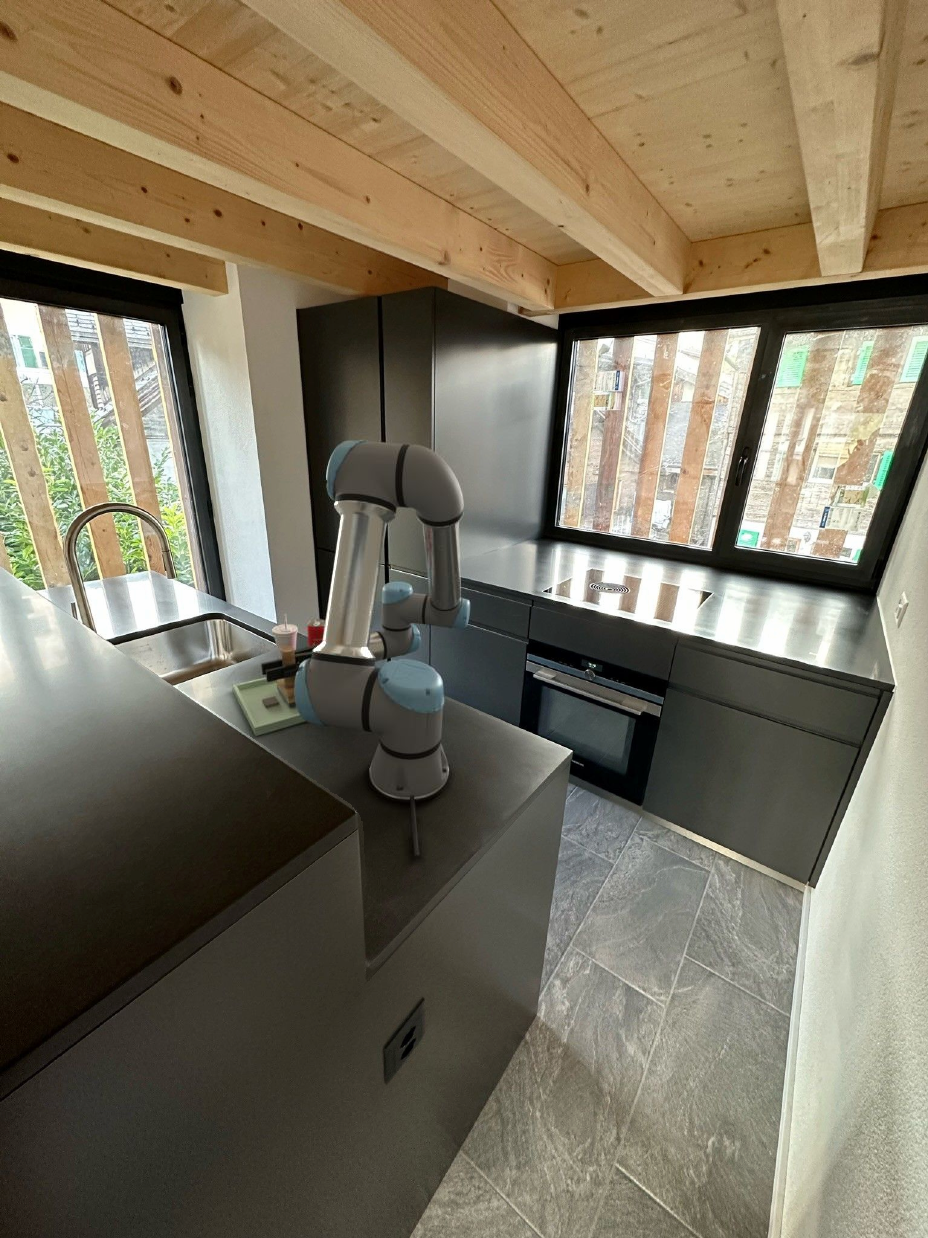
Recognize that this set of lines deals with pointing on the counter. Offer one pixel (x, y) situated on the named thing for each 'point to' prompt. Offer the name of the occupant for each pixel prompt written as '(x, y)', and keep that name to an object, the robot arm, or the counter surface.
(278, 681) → the brush
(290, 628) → the smoothie
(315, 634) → the beverage can
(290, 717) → the tray
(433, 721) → the robot arm
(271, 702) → the pad
